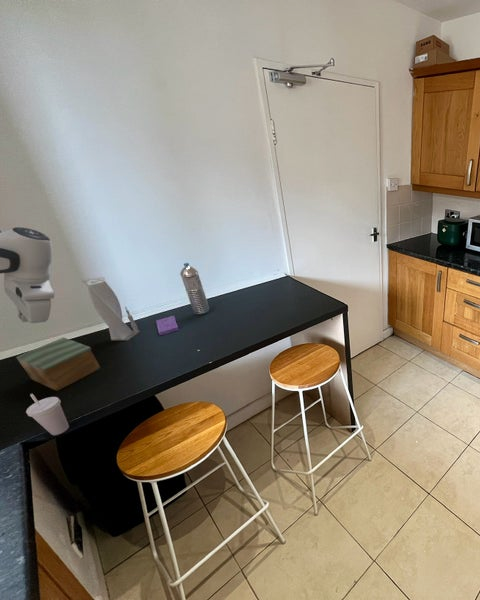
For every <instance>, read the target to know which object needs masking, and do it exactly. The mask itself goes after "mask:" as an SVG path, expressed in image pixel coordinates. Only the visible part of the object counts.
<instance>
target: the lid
mask: <svg viewBox="0 0 480 600" xmlns="http://www.w3.org/2000/svg"><path fill="white" fill-rule="evenodd" d="M90 349H91V350H92V347H90V346H89V345H87V344H86V345H85V344H82V343H80V342H77V341H76V340H75V341H74V340H72V339H70V338H66V337H61V338H58V339H56V340H54V341H51V342H49V343H47V344H44V345H41V346H39V347H37V348H34V349H31V350H29V351H27V352H25V353H22V354H20V355H18V356H16V359H17V360H18V359H19V360H21V361H23V362H26V363H28V364H30V365H32V366H35V367H37V368H39V369H42V370H44V371H45V370H47V369H49V368H51V367H53V366H56V365H58V364H60V363H62V362H64V361H66V360H68V359H71V358H73V357H75V356H77V355H79V354H81V353H84V352H86V351H88V350H90Z"/></svg>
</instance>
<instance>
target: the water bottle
mask: <svg viewBox="0 0 480 600" xmlns="http://www.w3.org/2000/svg"><path fill="white" fill-rule="evenodd" d="M179 274H180V277H181V280H182V282H183V285H184V288H185V291H186V295H187V299H188V301H189V304H190V307H191V310H192V312H193V314H194V315H196V316H203V315H207V314H208V313H209V312H210V311H211V308H210V305H209V303H208V299H207V296H206V292H205V289H204V286H203V285H202V282H201V278H200V275H199V270H198V269H196V267H193V266H190V263H189V262H184V263H183V268H182V269H181V271H180V273H179Z"/></svg>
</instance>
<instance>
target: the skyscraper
mask: <svg viewBox="0 0 480 600" xmlns="http://www.w3.org/2000/svg"><path fill="white" fill-rule="evenodd" d="M82 283H83V284H85V285H86V287H87V290H88V294H89V299H90V300H91V303H92V305H93V308H94V309H95V311H96V313H97V314H98V315H99V317H100V318H101V320H102V321H103V322H104V323H105V324H106V325H107V326H108V332H109V336H110V340H111V342H112V341H113V342H116V341H117V342H118V341H120V342H121V341H125V342H126V341H128V342H129V341H130V340H132V339H133V338H134V337H135V336H137V335H139V334H140V333H141V330H139V327H138V325H137V323H136V322H135V319H134V318H133V317H134V316H133V315H132V314H130V311H129V310H128V308H127V306H124V309H125V312H126V314H127V316H126V317H127V319H128V321H129V323H130V326H131V328H132V329H131V328H130V327H129V326H128V325H127V324H126V323H125V322H124V321H123V311H122V307H121V303H120V300H119V298H118V296H117V294H116V293H115V291H114V290H113V289H112V288H111V286H110V285H109V284H108V283H107V281H106V280H105V277H104V276H98V277H97V276H96V277H90V278H85V279H83V280H82Z"/></svg>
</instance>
